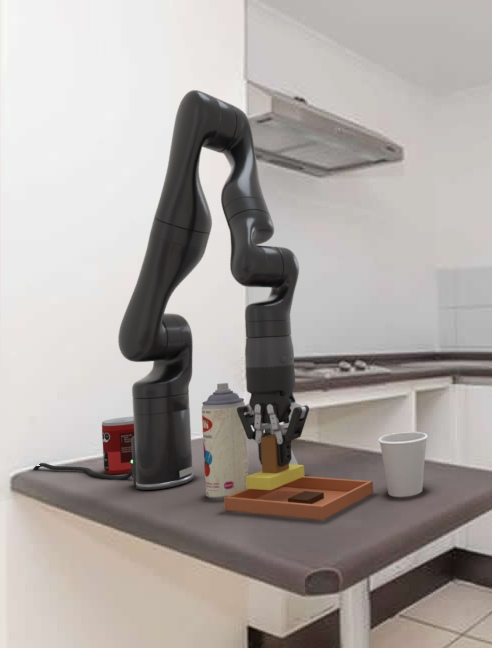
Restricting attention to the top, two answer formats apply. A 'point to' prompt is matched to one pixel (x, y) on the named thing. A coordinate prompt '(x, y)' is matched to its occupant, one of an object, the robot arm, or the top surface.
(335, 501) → the orange tray
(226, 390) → the aerosol can
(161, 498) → the top surface
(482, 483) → the top surface
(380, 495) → the top surface
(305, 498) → the block
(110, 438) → the canned food
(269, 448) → the brush
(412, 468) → the dixie cup
